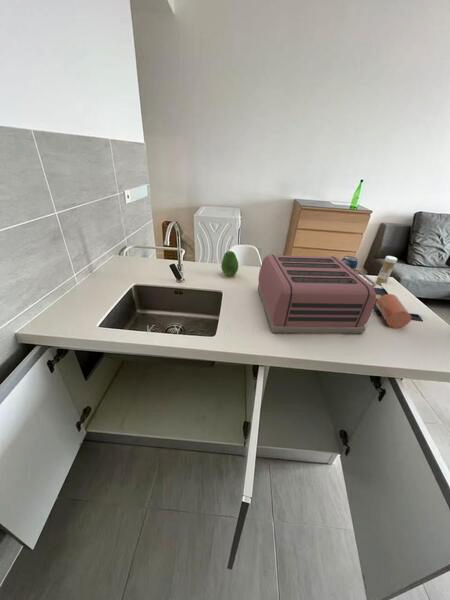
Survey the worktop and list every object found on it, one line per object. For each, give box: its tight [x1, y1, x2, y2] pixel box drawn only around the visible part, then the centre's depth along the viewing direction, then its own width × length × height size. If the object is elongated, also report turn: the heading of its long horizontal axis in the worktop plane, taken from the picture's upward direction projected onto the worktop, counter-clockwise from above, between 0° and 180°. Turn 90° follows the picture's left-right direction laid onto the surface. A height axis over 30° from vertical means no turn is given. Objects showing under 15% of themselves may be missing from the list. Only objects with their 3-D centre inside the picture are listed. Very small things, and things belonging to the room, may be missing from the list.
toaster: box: [257, 254, 377, 334], centre depth 90 cm, size 30×36×17 cm
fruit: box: [220, 250, 239, 277], centre depth 113 cm, size 8×8×12 cm
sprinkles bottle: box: [375, 255, 398, 286], centre depth 113 cm, size 5×5×13 cm
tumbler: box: [376, 293, 412, 329], centre depth 89 cm, size 7×7×11 cm
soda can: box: [340, 255, 359, 269], centre depth 114 cm, size 7×7×12 cm
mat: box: [373, 287, 424, 322], centre depth 102 cm, size 16×24×1 cm, turn 169°
